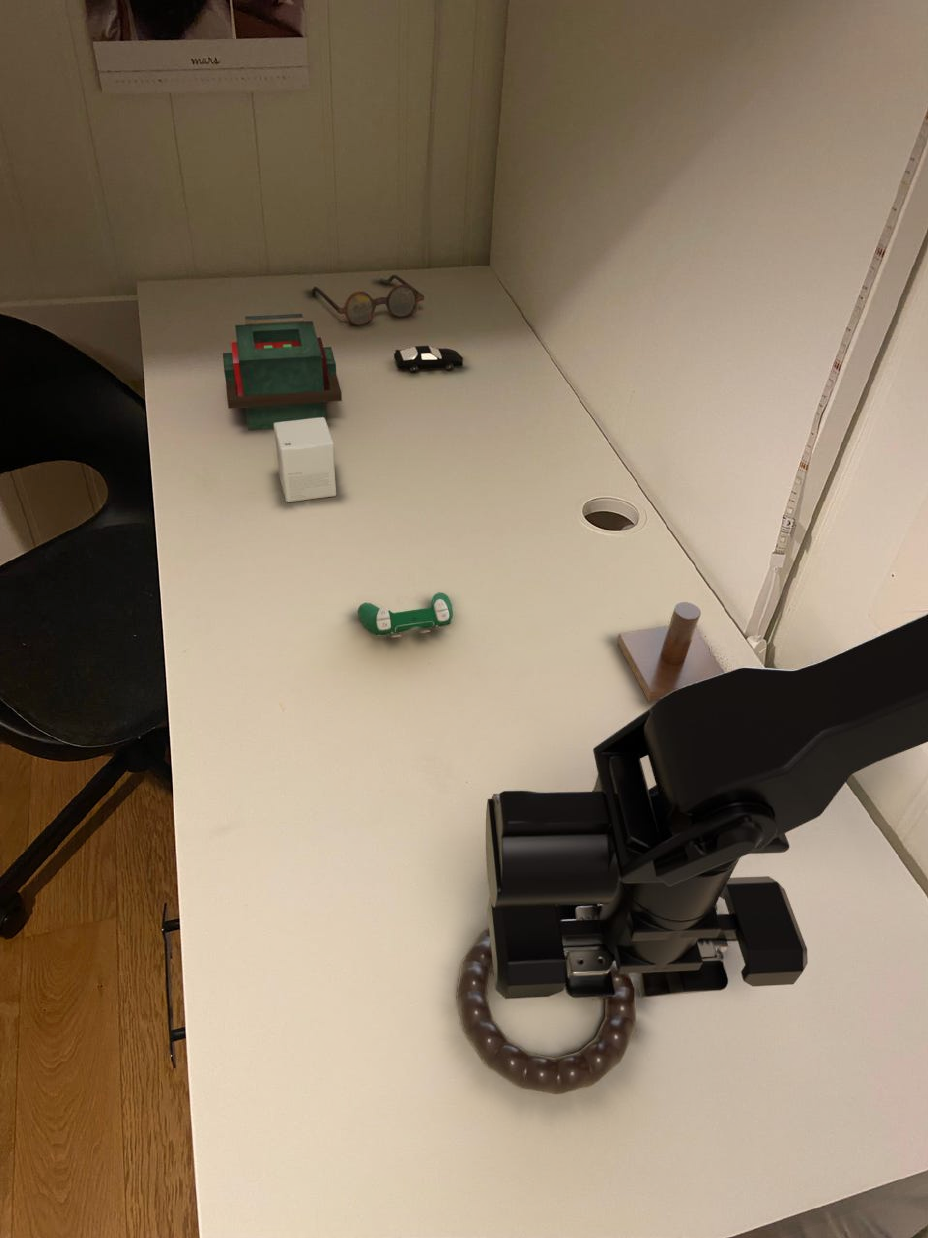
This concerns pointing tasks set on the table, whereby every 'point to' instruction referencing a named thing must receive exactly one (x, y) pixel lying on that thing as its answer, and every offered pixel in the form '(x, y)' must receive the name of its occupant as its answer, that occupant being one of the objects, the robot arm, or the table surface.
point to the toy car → (427, 358)
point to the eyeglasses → (377, 302)
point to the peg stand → (669, 654)
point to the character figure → (279, 371)
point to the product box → (305, 459)
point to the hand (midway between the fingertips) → (618, 991)
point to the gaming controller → (406, 617)
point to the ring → (535, 1068)
